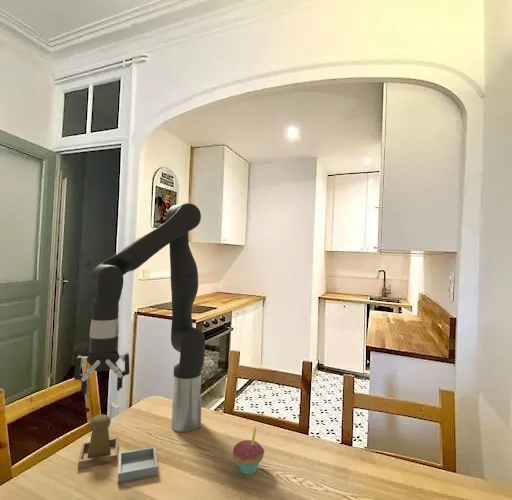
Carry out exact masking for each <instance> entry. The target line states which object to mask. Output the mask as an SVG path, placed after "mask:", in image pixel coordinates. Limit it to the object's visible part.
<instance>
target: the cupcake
mask: <svg viewBox="0 0 512 500" xmlns="http://www.w3.org/2000/svg"><path fill="white" fill-rule="evenodd" d="M256 433H257V426H255V428H253V433H252V437H251V439H246V440H241V441H239V442H237V443H236V444H235V445H234V446H233V449H232V458H233V460H235V462H236V463H237V465H238V470H239V472H240V473H242V474H244V475H253V474H254V473H256V472H257V470H258V467H259V464H260V462H262V461H263V459H264V454H265V449H264V448H263V447H262V445H261V444H260V443H259V442H258V441H256V440H255V438H256Z"/></svg>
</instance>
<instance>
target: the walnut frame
mask: <svg viewBox="0 0 512 500" xmlns="http://www.w3.org/2000/svg"><path fill="white" fill-rule="evenodd" d="M109 441H110V447H114V448H115V450H114V454H110V455H107V456H101V457H95V458H89V459H87V458H84V454H85V451H89V446H90V441H85V442H82V444H81V448H80V452H79V457H78V463H77V470H81V469H82V470H83V469H87V468H92V467H98V466H105V465H109V464H110V465H111V464H115V463H118V449H119V448H118V446H119V437H113V438H112V437H111V438H109Z"/></svg>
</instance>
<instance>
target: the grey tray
mask: <svg viewBox="0 0 512 500" xmlns="http://www.w3.org/2000/svg"><path fill="white" fill-rule="evenodd" d="M117 470H118V471H117V484H119V483H120V484H122V483H124V482H125V483H128V482H134V481H139V480H145V479H149V478H154V477H158V475H159V473H158V472H159V464H158V458H157V451H156V446H153V447H145V448H140V449H139V448H138V449H133V450H128V451H121V452H118V469H117ZM120 484H119V485H120Z"/></svg>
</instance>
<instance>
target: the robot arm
mask: <svg viewBox="0 0 512 500" xmlns="http://www.w3.org/2000/svg"><path fill="white" fill-rule="evenodd" d="M201 221H202V214H201V211H200V208H199V207H197V205H196V204H193V203H188V202H184V203H179V204H174V205H171V207H170V208H169V209H168V210H167V211H166V216H165V222H164V223H162V224H160V225H159V226H158V227H156V228H155V229H154V228H153V230H151V231H149V232H147V233H146V234H143V235H141V236H140V237H137V239H135V240H134V241H132V242H130V244H128V245H127V246H126V247H124V248H123V249H121V251H119V252H118V253H117V254H114V255H112V256H111V257H109V258H107V259H106V260H104V261H103V262H101V263H99V264H98V265H97V266H95V267H94V268H93V270H92V271H91V274H90V281H91V284H92V285H94V287H96V289H97V291H96V298H95V299H94V300H93V301H92V305H91V307H92V308H91V322H90V327H89V347H88V350H89V351H88V355H87V356H82V355H80V354H79V355H77V357H76V359H75V365H74V366H75V367H74V375H73V378H74V380H77V381H78V380H79V381H80V383H81V385H80V387H81V388H80V391H81V393H83V395H87V393H88V385H89V384H88V380H89V377H90V376H91V375H92V374H93V372H94V371H96V372H102V371H104V372H108V371H110V370H111V371H112V372H113V373H114V374H116V375H115V376H117V379H116V380H117V381H116V391H117V392H118V391H120V390H121V389H122V388H123V378H124V377H125V376H129V375H130V353H129V352H128V351H127V352H125V353H119V334H120V333H119V332H120V330H119V329H120V325H119V323H120V322H119V312H120V311H119V310H120V308H119V302H120V300H121V295H122V291H123V289H124V288H123V287H124V275H125V274H127V273H128V272H133V271H136V270H137V269H138V268H140V267H141V266H143V265H144V264H145V263H146V262H148V260H149V259H151V258H152V257H153V256H155V255H156V254H158V252H160V251H161V250H162V249H163V248H165V247H166V246H168V245H169V263H170V265H169V267H170V272H169V273H170V289H171V290H170V291H171V310H172V311H171V313H172V315H171V326H170V327H171V329H170V330H171V331H170V343H171V346H172V348H173V349H174V350H176V351H177V352H178V353H179V363H177V364H175V366H174V367H173V376H172V377H173V379H172V380H173V382H172V404H171V406H172V407H171V409H172V411H171V428H172V430H174V431H176V432H179V433H181V432H183V433H185V432H186V433H187V432H191V431H194V430H196V429H200V428H201V427H202V424H201V423H202V404H203V403H202V397H201V386H202V385H201V384H202V383H201V381H202V377H201V376H202V369H203V367H204V363H205V353H206V352H205V351H206V338H205V334H204V333H203V331H202V330H201V329H199V328H196V327H193V318H192V317H193V316H192V313H193V312H192V311H193V306H194V304H195V303H194V302H195V300H196V297H197V295H198V291H199V271H198V265H197V263H196V259H195V257H194V256H193V253H192V250H191V248H190V244H189V243H190V242H189V232H190V231H193V230H194V229H195V228H197V227H198V226H199V224H200V222H201ZM119 359H120V360H121V361H122V362H124V369H123V370H122V369H121V368H120V366H119V365H118V364H117V362H118V360H119ZM86 361H87V363H88V364H89V366H88V368H87V369H86V370H85V372H84V373H81V369H82V366H83V365H84V364H85V362H86Z"/></svg>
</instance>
